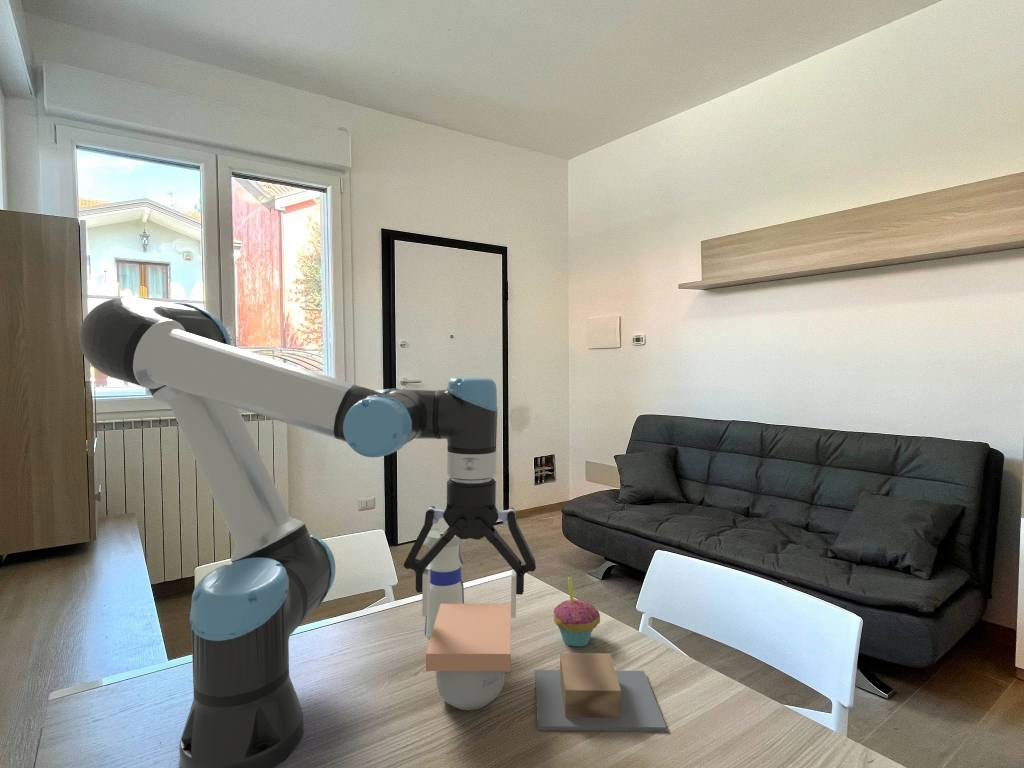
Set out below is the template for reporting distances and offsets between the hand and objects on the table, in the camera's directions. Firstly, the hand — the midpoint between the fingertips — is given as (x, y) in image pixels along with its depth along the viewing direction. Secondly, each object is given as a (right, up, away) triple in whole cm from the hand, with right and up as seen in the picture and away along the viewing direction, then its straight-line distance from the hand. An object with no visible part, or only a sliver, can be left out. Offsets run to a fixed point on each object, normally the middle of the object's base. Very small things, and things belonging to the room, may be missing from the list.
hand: (469, 613), depth 87 cm
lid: (0, -5, 0) cm, 5 cm away
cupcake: (+19, -12, +16) cm, 28 cm away
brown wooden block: (+18, -13, -2) cm, 22 cm away
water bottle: (-6, -12, +20) cm, 24 cm away
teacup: (0, -13, +1) cm, 13 cm away
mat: (+19, -13, -2) cm, 23 cm away
